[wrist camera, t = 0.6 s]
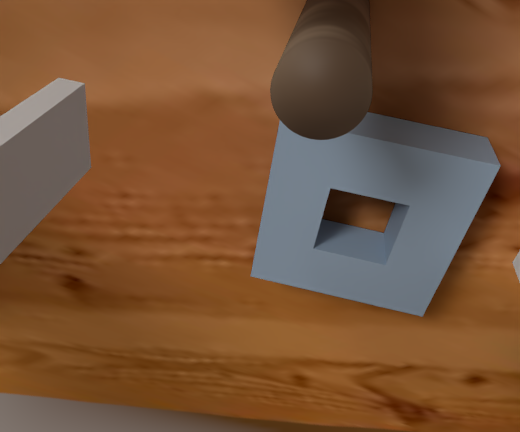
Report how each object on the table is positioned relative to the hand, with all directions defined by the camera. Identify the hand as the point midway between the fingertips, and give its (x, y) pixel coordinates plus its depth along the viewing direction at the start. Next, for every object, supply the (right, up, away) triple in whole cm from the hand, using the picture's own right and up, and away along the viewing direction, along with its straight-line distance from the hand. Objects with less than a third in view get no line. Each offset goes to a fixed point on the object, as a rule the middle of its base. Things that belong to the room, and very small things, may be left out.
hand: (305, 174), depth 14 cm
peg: (+4, +12, +17) cm, 21 cm away
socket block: (+7, 0, +24) cm, 25 cm away
